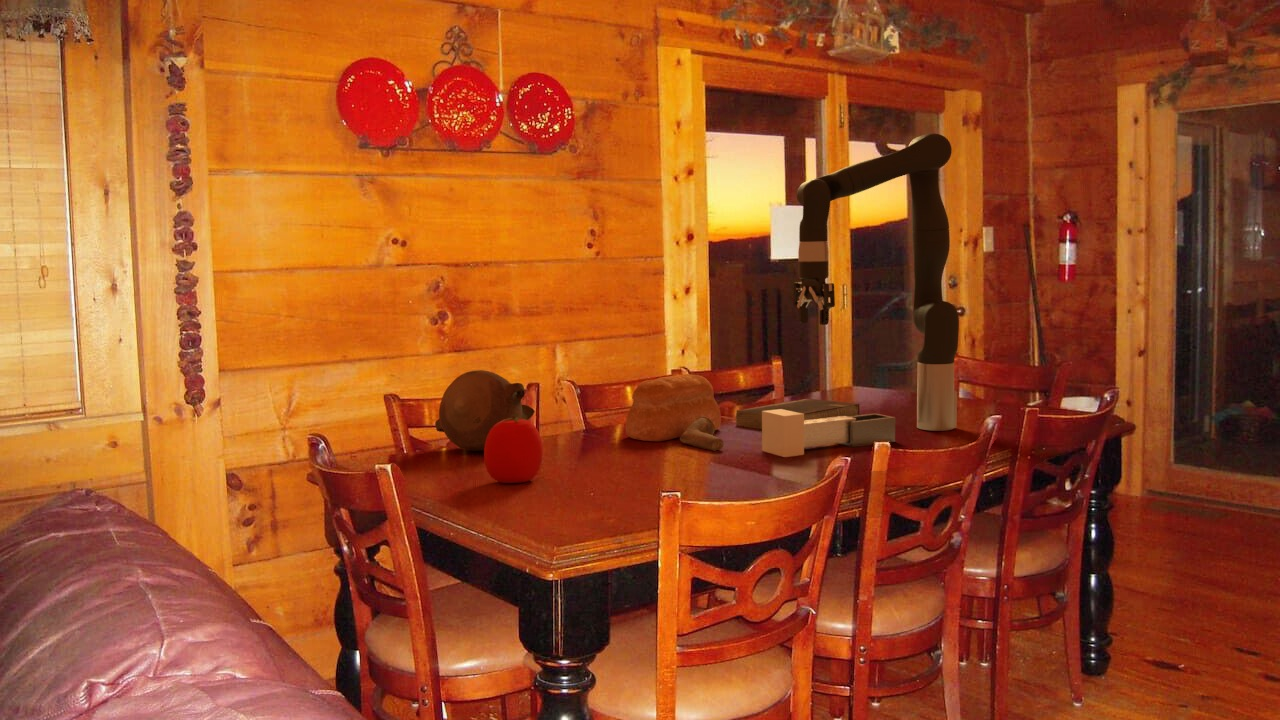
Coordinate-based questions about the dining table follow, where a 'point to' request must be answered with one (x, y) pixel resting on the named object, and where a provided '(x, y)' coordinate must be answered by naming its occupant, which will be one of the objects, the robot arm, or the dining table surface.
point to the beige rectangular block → (827, 431)
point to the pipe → (702, 435)
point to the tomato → (513, 451)
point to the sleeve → (871, 429)
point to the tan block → (783, 432)
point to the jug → (479, 407)
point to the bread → (670, 407)
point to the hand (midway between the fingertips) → (813, 323)
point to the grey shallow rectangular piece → (798, 411)
